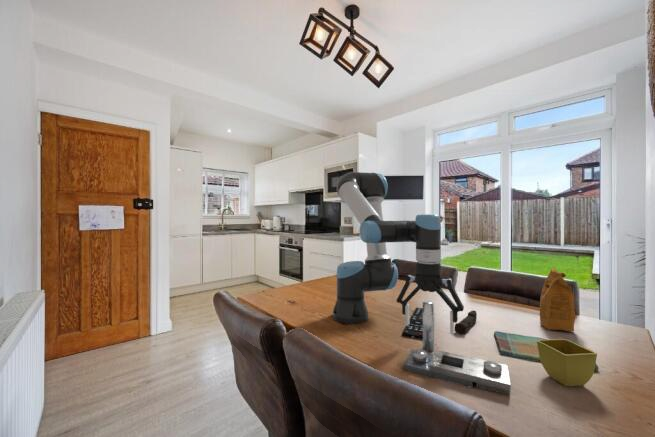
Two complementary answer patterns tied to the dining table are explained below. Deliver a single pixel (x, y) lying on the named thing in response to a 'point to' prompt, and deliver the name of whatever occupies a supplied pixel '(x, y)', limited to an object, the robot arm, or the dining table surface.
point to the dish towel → (519, 346)
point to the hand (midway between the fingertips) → (428, 328)
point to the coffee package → (557, 303)
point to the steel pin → (428, 326)
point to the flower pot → (567, 361)
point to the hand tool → (466, 323)
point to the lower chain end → (421, 364)
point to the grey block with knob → (473, 371)
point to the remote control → (415, 325)
